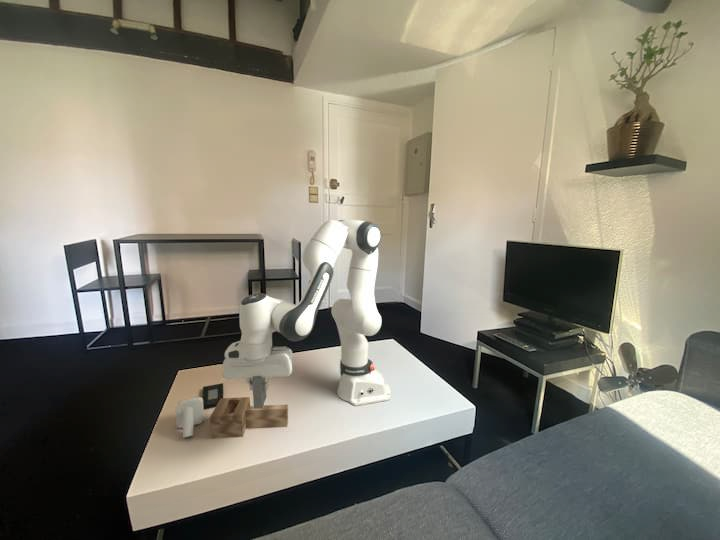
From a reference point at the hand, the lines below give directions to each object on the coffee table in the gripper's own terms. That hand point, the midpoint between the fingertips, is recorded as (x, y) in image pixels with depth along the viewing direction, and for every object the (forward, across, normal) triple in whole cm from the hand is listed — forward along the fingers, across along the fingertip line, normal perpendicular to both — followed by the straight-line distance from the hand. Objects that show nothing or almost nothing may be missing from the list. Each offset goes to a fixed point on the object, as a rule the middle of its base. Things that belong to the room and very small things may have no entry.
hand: (259, 388), depth 93 cm
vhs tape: (+20, +26, -27) cm, 42 cm away
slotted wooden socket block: (+20, +5, -9) cm, 22 cm away
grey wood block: (+5, 0, 0) cm, 5 cm away
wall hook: (+20, +26, -9) cm, 34 cm away
